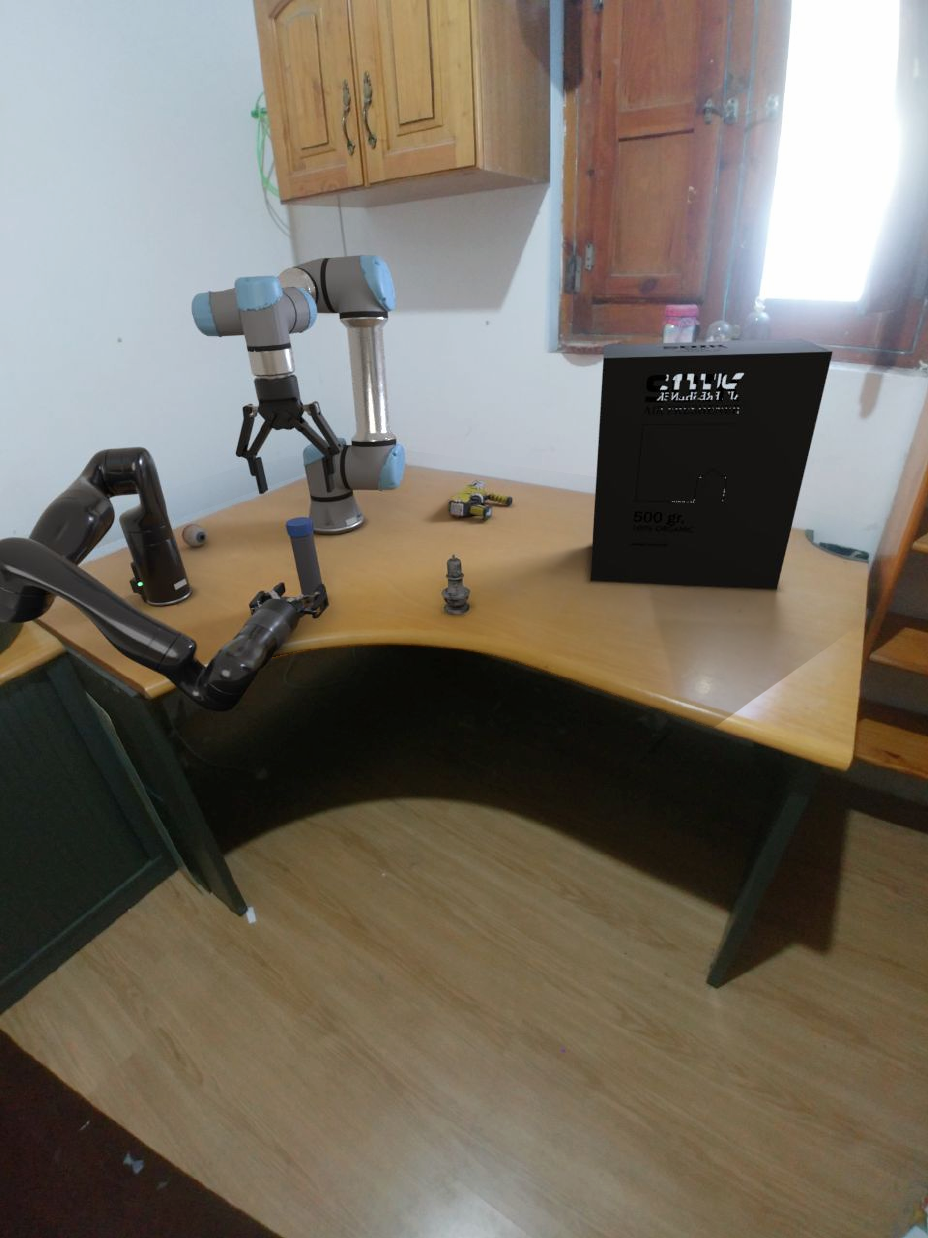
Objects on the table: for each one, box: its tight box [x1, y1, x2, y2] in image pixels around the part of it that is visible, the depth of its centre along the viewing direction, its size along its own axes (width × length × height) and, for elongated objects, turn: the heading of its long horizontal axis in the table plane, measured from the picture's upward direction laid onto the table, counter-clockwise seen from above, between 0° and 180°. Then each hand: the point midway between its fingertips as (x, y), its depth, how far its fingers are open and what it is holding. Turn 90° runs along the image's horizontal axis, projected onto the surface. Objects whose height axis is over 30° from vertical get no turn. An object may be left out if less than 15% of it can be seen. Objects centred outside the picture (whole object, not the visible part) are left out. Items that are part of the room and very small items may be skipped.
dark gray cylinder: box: [289, 532, 323, 606], centre depth 126 cm, size 5×5×18 cm
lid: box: [285, 516, 314, 537], centre depth 121 cm, size 5×5×2 cm
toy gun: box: [447, 479, 514, 521], centre depth 175 cm, size 5×24×15 cm
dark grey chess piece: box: [441, 553, 471, 615], centre depth 121 cm, size 6×6×12 cm
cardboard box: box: [589, 338, 834, 590], centre depth 125 cm, size 38×20×45 cm, turn 78°
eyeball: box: [181, 523, 208, 548], centre depth 159 cm, size 6×6×6 cm
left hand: (303, 587), depth 123 cm, fingers open, 8 cm apart
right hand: (297, 491), depth 118 cm, fingers open, 13 cm apart
